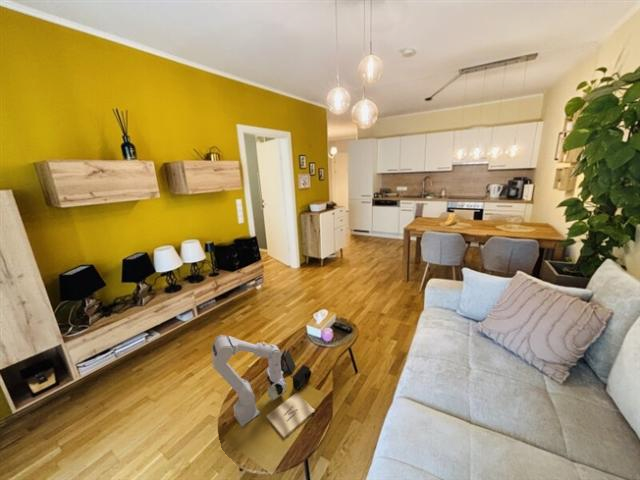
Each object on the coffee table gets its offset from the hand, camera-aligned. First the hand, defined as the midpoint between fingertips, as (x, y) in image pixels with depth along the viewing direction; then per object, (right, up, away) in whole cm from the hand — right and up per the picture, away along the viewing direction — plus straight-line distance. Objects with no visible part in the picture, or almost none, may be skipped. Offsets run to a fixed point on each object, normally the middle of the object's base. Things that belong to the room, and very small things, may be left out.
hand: (277, 390), depth 130 cm
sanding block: (0, -2, 0) cm, 2 cm away
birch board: (+8, -7, -8) cm, 13 cm away
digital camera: (+12, -2, +10) cm, 16 cm away
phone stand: (+2, +1, +20) cm, 21 cm away
